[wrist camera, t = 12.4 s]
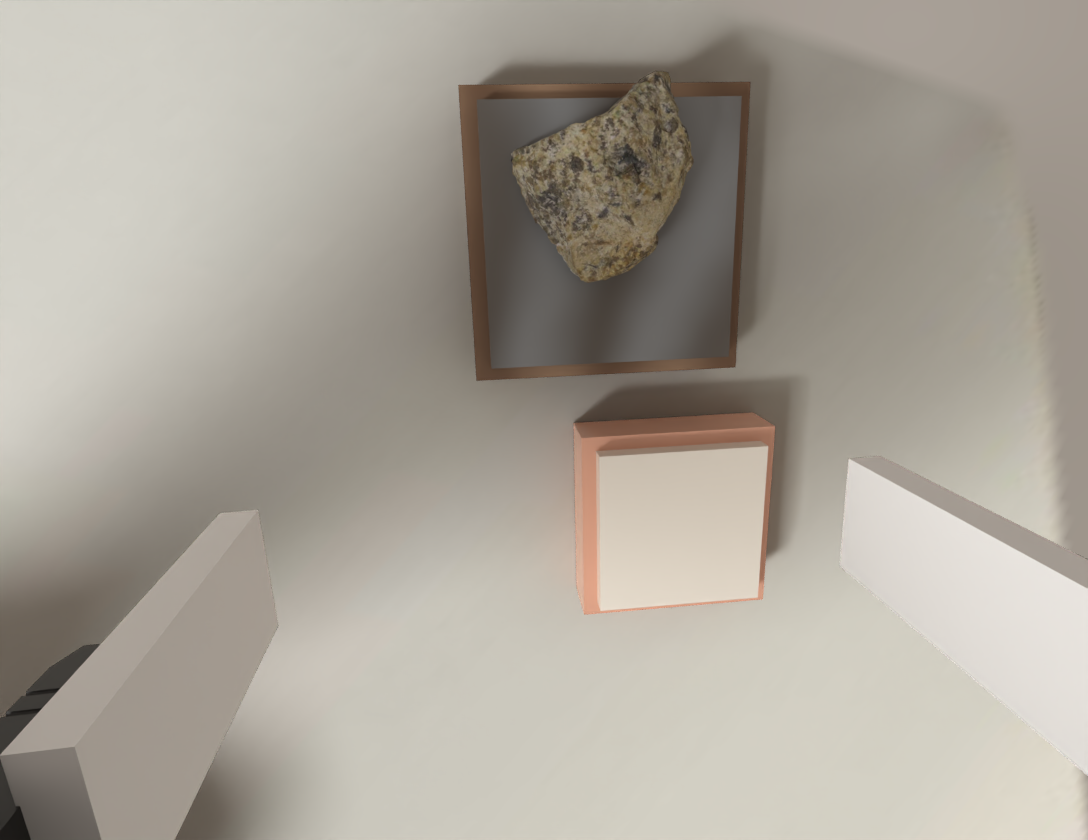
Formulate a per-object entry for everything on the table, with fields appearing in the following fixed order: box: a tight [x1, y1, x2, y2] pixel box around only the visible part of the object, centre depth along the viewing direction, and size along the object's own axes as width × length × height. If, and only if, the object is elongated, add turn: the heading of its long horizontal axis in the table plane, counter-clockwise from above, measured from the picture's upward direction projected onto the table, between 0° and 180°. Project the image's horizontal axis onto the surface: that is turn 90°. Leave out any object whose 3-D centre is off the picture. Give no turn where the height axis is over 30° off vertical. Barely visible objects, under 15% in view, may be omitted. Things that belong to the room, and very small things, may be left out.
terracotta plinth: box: [573, 412, 775, 615], centre depth 38 cm, size 11×11×4 cm
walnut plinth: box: [458, 82, 750, 381], centre depth 33 cm, size 14×14×4 cm
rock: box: [511, 71, 694, 283], centre depth 29 cm, size 7×8×4 cm
